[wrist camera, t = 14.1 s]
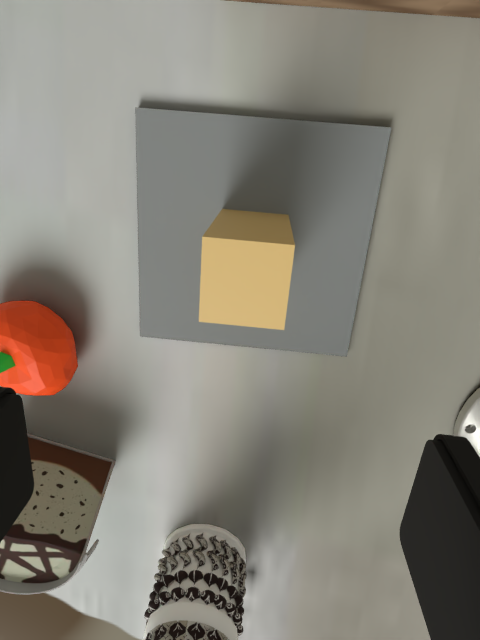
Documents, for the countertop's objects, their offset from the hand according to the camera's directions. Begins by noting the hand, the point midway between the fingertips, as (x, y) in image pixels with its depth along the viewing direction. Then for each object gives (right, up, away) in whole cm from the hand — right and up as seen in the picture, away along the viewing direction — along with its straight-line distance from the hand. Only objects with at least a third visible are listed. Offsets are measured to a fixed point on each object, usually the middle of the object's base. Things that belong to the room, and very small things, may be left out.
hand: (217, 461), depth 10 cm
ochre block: (+1, +9, +20) cm, 22 cm away
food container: (-16, -11, +30) cm, 36 cm away
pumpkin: (-15, +2, +25) cm, 29 cm away
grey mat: (+1, +9, +20) cm, 22 cm away
